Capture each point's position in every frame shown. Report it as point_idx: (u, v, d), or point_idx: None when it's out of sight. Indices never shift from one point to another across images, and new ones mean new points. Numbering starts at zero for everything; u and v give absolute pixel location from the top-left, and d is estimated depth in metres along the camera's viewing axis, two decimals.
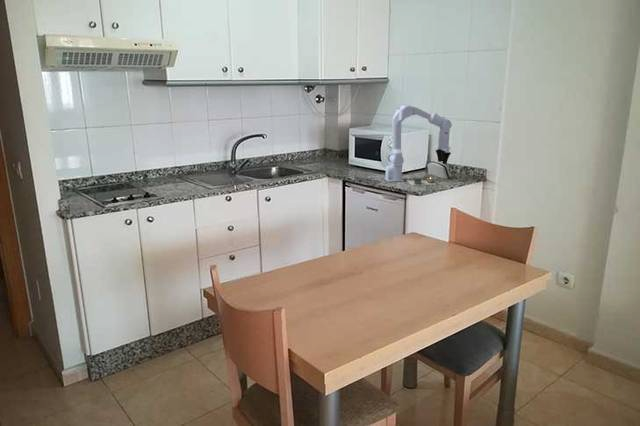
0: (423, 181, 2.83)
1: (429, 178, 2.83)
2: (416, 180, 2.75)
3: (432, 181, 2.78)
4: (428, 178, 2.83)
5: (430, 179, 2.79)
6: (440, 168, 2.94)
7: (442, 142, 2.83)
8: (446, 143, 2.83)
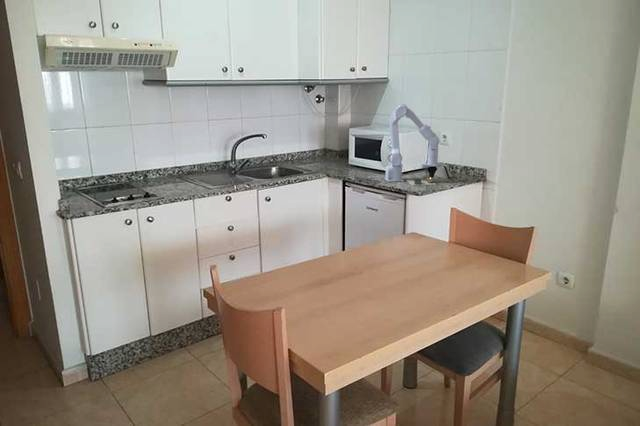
0: (423, 181, 2.83)
1: (429, 178, 2.83)
2: (416, 180, 2.75)
3: (432, 181, 2.78)
4: (428, 178, 2.83)
5: (430, 179, 2.79)
6: (440, 168, 2.94)
7: None
8: (429, 159, 2.80)
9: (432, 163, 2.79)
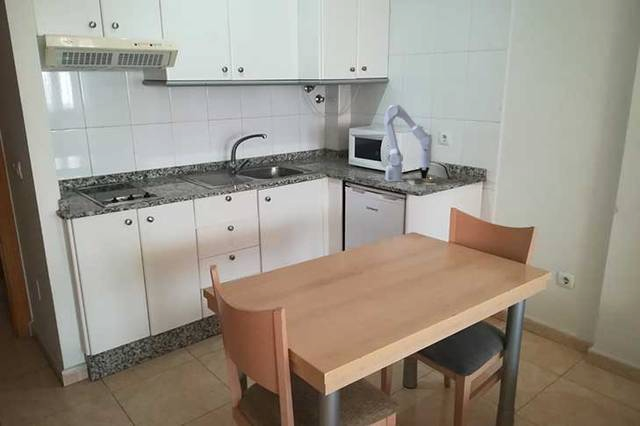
0: None
1: (425, 179, 2.81)
2: (416, 180, 2.75)
3: None
4: (425, 179, 2.80)
5: (430, 179, 2.79)
6: (440, 168, 2.94)
7: (421, 159, 2.78)
8: (425, 160, 2.77)
9: (428, 163, 2.78)
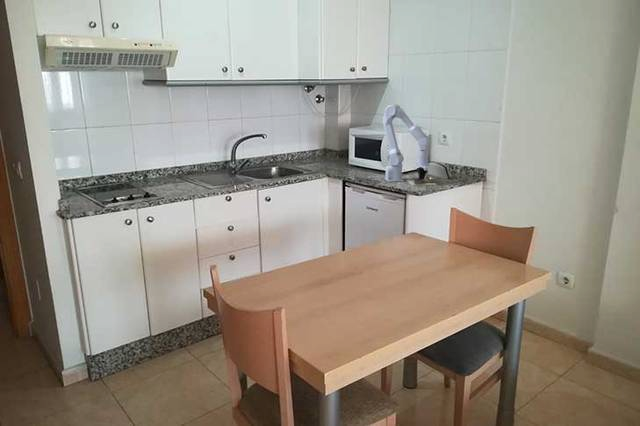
0: None
1: (425, 179, 2.79)
2: (416, 180, 2.75)
3: None
4: (425, 179, 2.79)
5: (430, 179, 2.79)
6: (440, 168, 2.94)
7: (421, 160, 2.76)
8: (425, 161, 2.76)
9: (427, 163, 2.78)
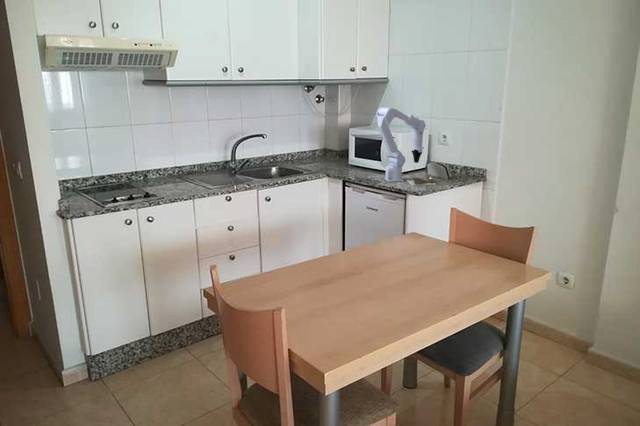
0: None
1: (425, 179, 2.79)
2: (416, 180, 2.75)
3: None
4: (425, 179, 2.79)
5: (430, 179, 2.79)
6: (440, 168, 2.94)
7: (416, 142, 2.87)
8: (419, 143, 2.87)
9: (421, 146, 2.89)
